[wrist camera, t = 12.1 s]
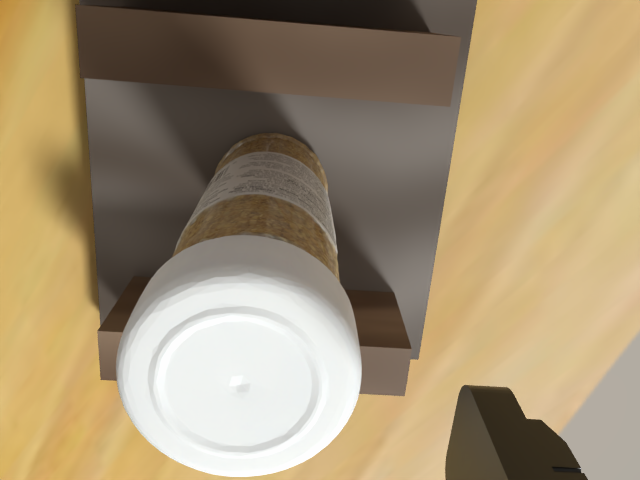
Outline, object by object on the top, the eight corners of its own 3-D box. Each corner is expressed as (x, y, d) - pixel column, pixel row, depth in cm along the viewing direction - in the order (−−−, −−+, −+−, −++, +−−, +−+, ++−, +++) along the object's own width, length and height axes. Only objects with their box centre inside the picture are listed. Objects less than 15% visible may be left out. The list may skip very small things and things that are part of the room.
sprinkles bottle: (273, 261, 24) (246, 525, 12) (189, 187, 23) (55, 393, 10) (352, 185, 23) (417, 383, 10) (268, 103, 22) (227, 217, 9)
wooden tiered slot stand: (88, -95, 21) (-170, -224, 9) (475, -60, 21) (661, -140, 10) (112, 324, 27) (-27, 546, 16) (412, 342, 27) (485, 567, 16)
